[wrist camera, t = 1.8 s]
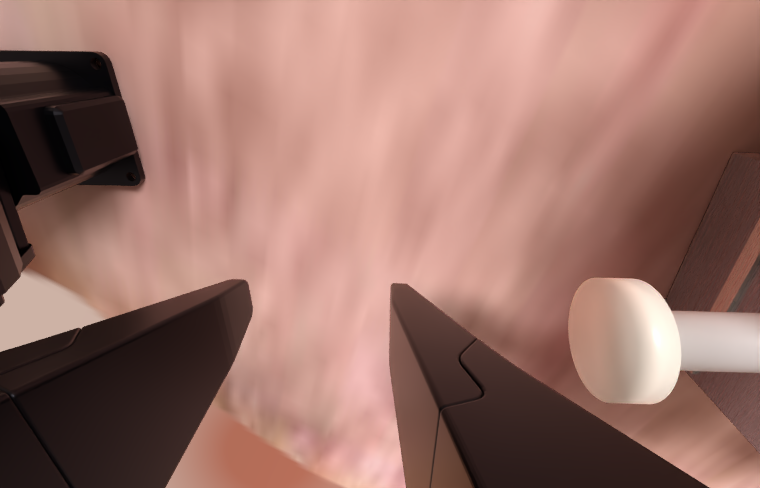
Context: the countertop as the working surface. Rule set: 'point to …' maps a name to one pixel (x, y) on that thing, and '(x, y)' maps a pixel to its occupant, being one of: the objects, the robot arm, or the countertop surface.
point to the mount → (727, 282)
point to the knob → (651, 341)
